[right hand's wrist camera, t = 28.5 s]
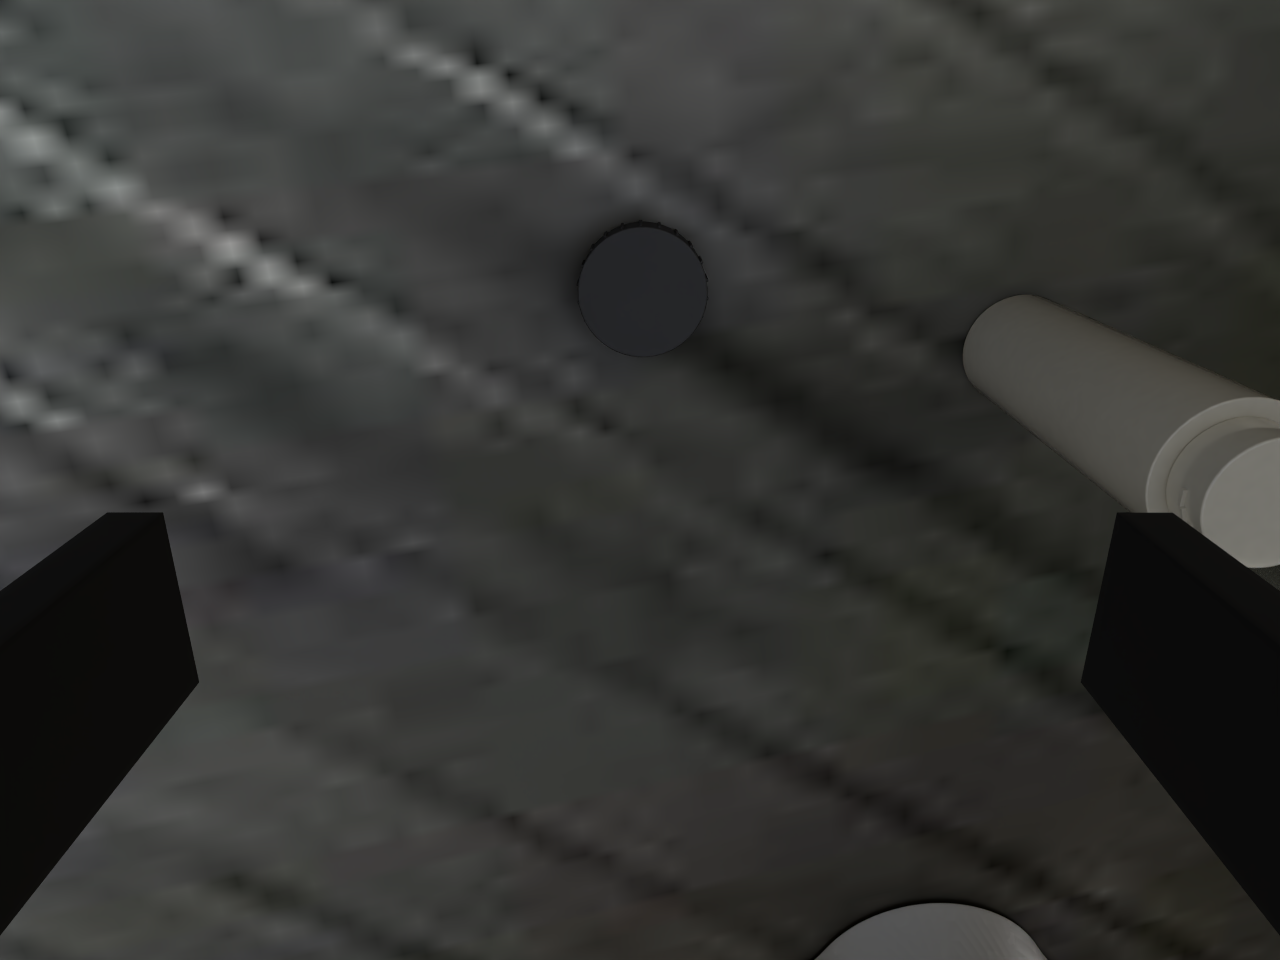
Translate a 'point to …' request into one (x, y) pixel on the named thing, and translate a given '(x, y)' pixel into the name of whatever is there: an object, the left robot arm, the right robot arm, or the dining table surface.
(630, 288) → the lid
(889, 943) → the left robot arm
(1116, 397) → the grey cylinder
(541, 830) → the dining table surface
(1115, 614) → the right robot arm
